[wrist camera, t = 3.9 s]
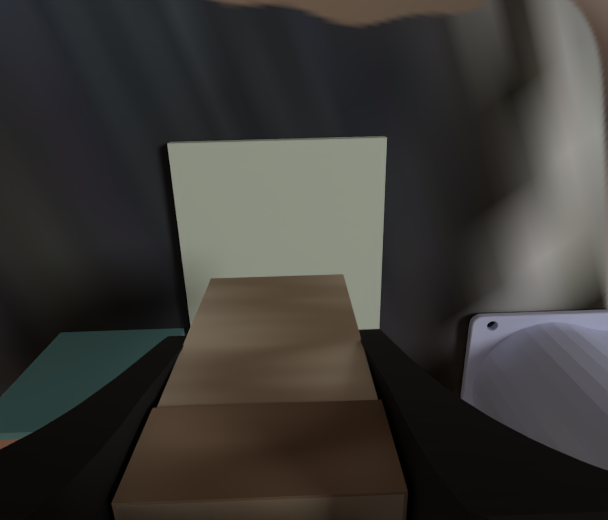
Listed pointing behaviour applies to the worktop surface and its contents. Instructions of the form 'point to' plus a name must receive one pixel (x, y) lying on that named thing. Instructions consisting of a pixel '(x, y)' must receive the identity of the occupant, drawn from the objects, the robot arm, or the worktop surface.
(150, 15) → the worktop surface
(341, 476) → the brown wooden box
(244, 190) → the mat
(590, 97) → the worktop surface
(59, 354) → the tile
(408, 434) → the robot arm
